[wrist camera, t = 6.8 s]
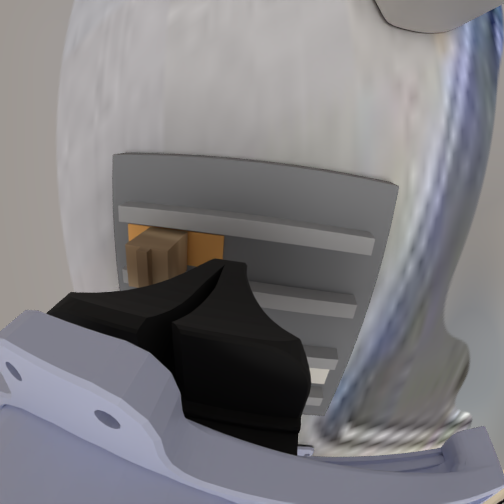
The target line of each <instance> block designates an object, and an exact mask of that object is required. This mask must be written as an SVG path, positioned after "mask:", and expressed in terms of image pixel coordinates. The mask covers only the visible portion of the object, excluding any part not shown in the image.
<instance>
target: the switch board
mask: <svg viewBox="0 0 504 504" xmlns="http://www.w3.org/2000/svg"><path fill="white" fill-rule="evenodd" d="M112 183H113V220H114V237H115V250H116V261H117V271H118V280H119V288H120V291H123V290H129V289H134V288H136V287H131V286H129V283H128V273H127V261H126V248H125V244H127V243H128V242H129V241H131V240H132V239H134V238H135V237H136V236H138V235H139V234H141V233H142V232H144V231H145V230H146V229H148V228H149V227H155V228H163V229H170V230H178V231H186V232H188V238H187V270H186V272H187V271H189V270H191V269H193V268H195V267H197V266H199V265H201V264H203V263H205V262H207V261H209V260H212V259H215V258H216V259H223V260H230V261H237V262H244V263H246V265H247V278H248V281H249V285H250V287H251V290H252V292H253V294H254V296H255V298H256V300H257V302H258V303H259V305H260V307H261V308H262V309H263V311H264V312H265V313H266V314H267V315H268V316H269V317H270V318H271V319H272V320H273V321H274V322H275V323H276V324H278V325H279V326H280V327H281V328H283V329H284V330H286V331H288V332H289V333H291V334H293V335H294V336H296V337H298V338H299V339H300V340H301V342H302V344H303V347H304V350H305V353H306V357H307V360H308V364H309V369H310V374H311V389H310V394H309V397H308V399H307V402H306V405H305V407H304V410H303V412H302V414H305V415H319V416H324V415H325V413H326V411H327V409H328V407H329V405H330V403H331V401H332V398H333V396H334V394H335V392H336V389H337V387H338V385H339V382H340V380H341V378H342V375H343V373H344V371H345V368H346V366H347V363H348V361H349V358H350V356H351V353H352V351H353V348H354V345H355V343H356V340H357V337H358V335H359V332H360V329H361V326H362V323H363V321H364V318H365V315H366V312H367V309H368V306H369V303H370V300H371V296H372V293H373V290H374V287H375V283H376V280H377V277H378V273H379V270H380V266H381V263H382V259H383V255H384V251H385V248H386V244H387V240H388V236H389V231H390V227H391V223H392V218H393V214H394V209H395V204H396V200H397V195H398V189H399V186H397V185H395V184H393V183H391V182H387V181H382V180H377V179H372V178H367V177H362V176H357V175H352V174H347V173H341V172H335V171H330V170H324V169H317V168H311V167H304V166H297V165H290V164H283V163H275V162H266V161H258V160H248V159H238V158H227V157H215V156H201V155H183V154H159V153H121V154H114V155H113V173H112Z"/></svg>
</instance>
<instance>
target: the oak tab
mask: <svg viewBox="0 0 504 504" xmlns="http://www.w3.org/2000/svg"><path fill="white" fill-rule="evenodd" d="M187 238H188V232H186V231H178V230H170V229H163V228H155V227H149V228H148V229H146V230H145V231H144V232H142V233H141V234H139V235H138V236H136V237H135V238H134V239H132V240H131V241H129V242H128V243H127V244H125V248H126V261H127V273H128V283H129V286H131V287H136V288H139V287H144V286H149V285H152V284H156V283H159V282H162V281H165V280H168V279H171V278H173V277H175V276H178V275H180V274H182V273H185V272H186V270H187Z"/></svg>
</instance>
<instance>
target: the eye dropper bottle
mask: <svg viewBox="0 0 504 504" xmlns="http://www.w3.org/2000/svg"><path fill="white" fill-rule="evenodd" d="M375 1H376V3H377V5H378V7H379V9H380V11H381V13H382V14H383V16H384V18H385V19H386V20H387V22H388V23H390V24H392V25H393V26H396V27H399V28H403V29H407V30H411V31H416V32H423V33H440V32H446V31H450V30H453V29H456V28H458V27H460V26H462V25H463V24H465V23H467V22H469V21H471V20H473V19H475V18H476V17H478V16H480V15H482V14H484V13H486V12H488V11H490V10H492V9H494V8H496V7H498V6H500V5H502V4H504V0H375Z"/></svg>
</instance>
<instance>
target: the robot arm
mask: <svg viewBox="0 0 504 504" xmlns="http://www.w3.org/2000/svg"><path fill="white" fill-rule="evenodd" d="M310 389H311V374H310V369H309V364H308V360H307V357H306V353H305V350H304V347H303V344H302V342H301V340H300V339H299V338H298V337H296V336H294V335H293V334H291V333H289V332H288V331H286V330H284V329H283V328H281V327H280V326H279V325H278V324H276V323H275V322H274V321H273V320H272V319H271V318H270V317H269V316H268V315H267V314H266V313H265V312H264V311H263V309H262V308H261V307H260V305H259V303H258V302H257V300H256V298H255V296H254V294H253V292H252V290H251V287H250V285H249V281H248V278H247V265H246V263H244V262H237V261H230V260H223V259H216V258H215V259H212V260H209V261H207V262H205V263H203V264H201V265H199V266H197V267H195V268H193V269H191V270H189V271H187V272H185V273H182V274H180V275H178V276H175V277H173V278H171V279H168V280H165V281H162V282H159V283H156V284H152V285H149V286H144V287H139V288H134V289H129V290H123V291H115V292H102V293H76V292H70V293H69V294H68V295H67V296H66V297H65V298H63V299H62V300H61V301H60V302H59V303H57V304H56V305H55V306H54V307H53V308H52V309H51V310H50V311H48V312H47V313H43V312H41V311H38V310H25V311H24V312H23V313H21V314H20V315H19V316H18V317H17V318H15V319H14V320H13V321H12V322H11V323H9V324H8V325H7V326H6V327H5V328H4V329H2V330H1V331H0V504H482V503H484V502H485V501H487V500H488V499H489V498H491V497H492V496H494V495H495V494H496V493H498V492H499V491H500V490H502V489H503V488H504V474H503V471H502V468H501V465H500V463H499V460H498V457H497V455H496V452H495V449H494V447H493V444H492V442H491V439H490V437H489V435H488V432H487V430H486V428H485V426H481V427H476V428H472V429H467V430H462V431H459V432H457V433H455V434H454V435H452V436H451V437H450V438H449V439H448V440H447V441H446V442H445V443H444V445H443V446H442V447H441V448H437V449H431V450H425V451H418V452H410V453H402V454H392V455H380V456H361V457H316V456H312V454H313V453H314V449H313V448H312V447H302V446H298V433H299V431H300V427H301V415H302V412H303V410H304V407H305V405H306V402H307V399H308V397H309V394H310Z"/></svg>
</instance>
